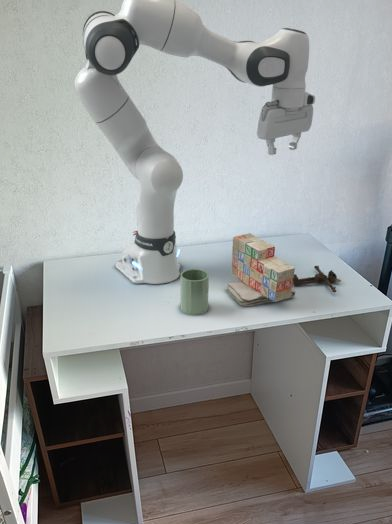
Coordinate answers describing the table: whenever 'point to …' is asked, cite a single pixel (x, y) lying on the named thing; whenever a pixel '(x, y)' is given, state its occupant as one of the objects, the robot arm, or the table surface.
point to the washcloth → (247, 294)
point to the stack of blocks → (261, 267)
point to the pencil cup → (194, 291)
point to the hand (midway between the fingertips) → (282, 151)
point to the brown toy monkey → (318, 279)
